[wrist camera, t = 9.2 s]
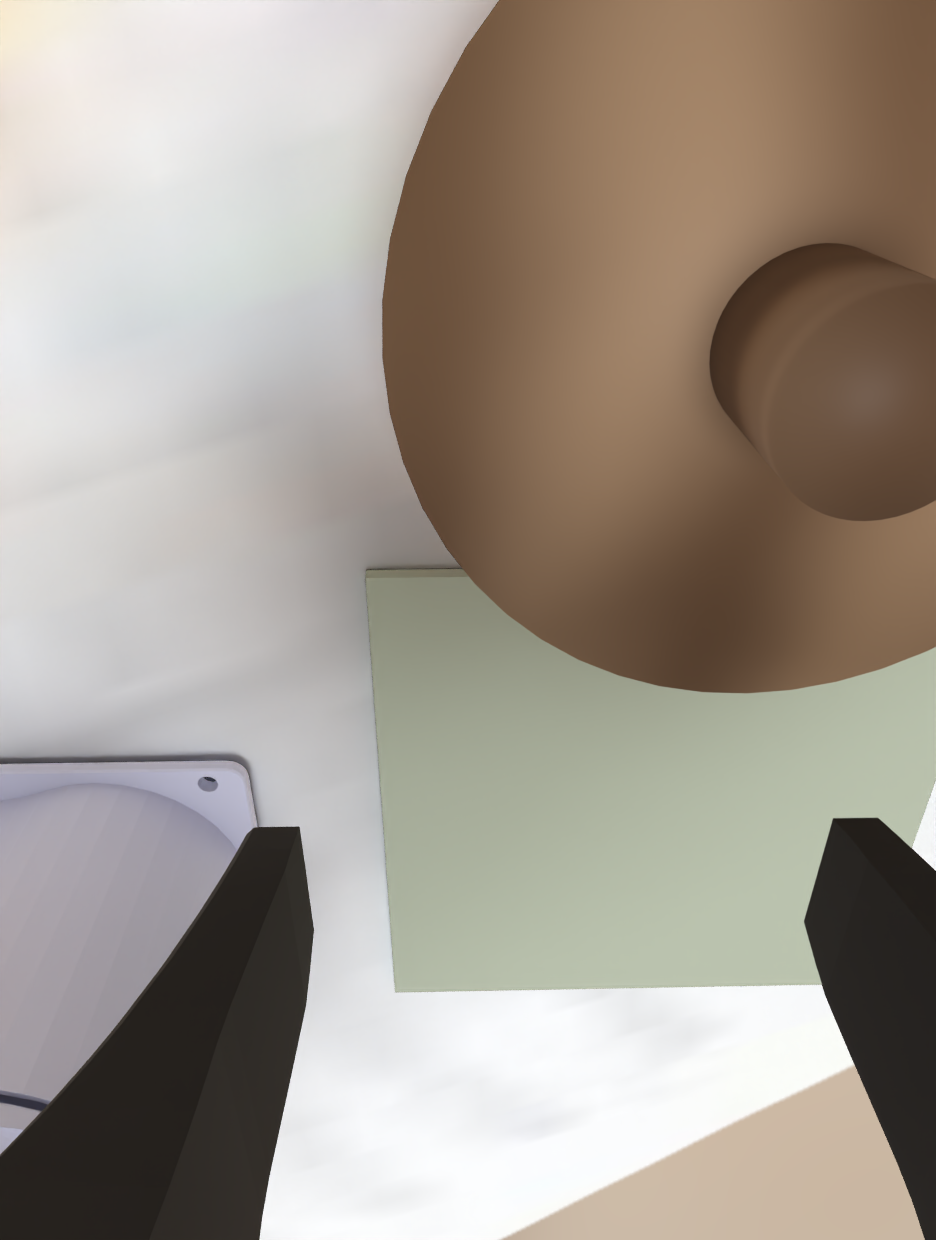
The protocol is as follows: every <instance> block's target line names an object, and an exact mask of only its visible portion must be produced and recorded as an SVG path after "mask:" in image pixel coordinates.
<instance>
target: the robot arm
mask: <svg viewBox="0 0 936 1240" xmlns="http://www.w3.org/2000/svg"><path fill="white" fill-rule="evenodd" d="M206 776H207V777H212V778H213V779H215V780H216V781H214V782H211V781H207V780H205V779H204V778H203V777H206ZM804 924H805V928H806V931H807V935H808V938H809V942H810V946H811V949H812V953H813V956H814V960H815V963H816V967H817V970H818V973H819V976H820V980H821V983H822V986H823V989H824V993H825V996H826V998H827V1001H828V1003H829V1005H830V1008H831V1010H832V1013H833V1015H834V1017H835V1020H836V1022H837V1025H838V1027H839V1029H840V1032H841V1034H842V1036H843V1039H844V1041H845V1043H846V1046H847V1048H848V1050H849V1053H850V1055H851V1057H852V1060H853V1062H854V1064H855V1067H856V1069H857V1071H858V1074H859V1075H860V1078H861V1080H862V1083H863V1085H864V1087H865V1089H866V1092H867V1094H868V1096H869V1099H870V1101H871V1104H872V1106H873V1108H874V1110H875V1113H876V1115H877V1117H878V1120H879V1122H880V1124H881V1127H882V1129H883V1131H884V1134H885V1136H886V1138H887V1140H888V1142H889V1145H890V1147H891V1150H892V1152H893V1154H894V1156H895V1159H896V1161H897V1163H898V1166H899V1168H900V1171H901V1174H902V1176H903V1179H904V1181H905V1184H906V1187H907V1189H908V1192H909V1194H910V1197H911V1199H912V1202H913V1205H914V1208H915V1211H916V1214H917V1217H918V1220H919V1223H920V1226H921V1229H922V1232H923V1235H924V1238H925V1240H936V871H935V870H934V869H933V868H932V867H931V866H930V865H929V864H928V863H927V862H926V861H925V860H924V859H922V858H921V857H920V856H919V855H918V854H917V853H916V852H915V851H914V850H913V849H912V848H911V847H910V846H909V845H908V844H906V843H905V842H904V841H903V840H902V839H901V838H900V837H899V836H898V835H897V834H896V833H895V832H893V831H892V830H891V829H890V828H889V827H888V826H887V825H886V824H885V823H884V822H882V821H881V820H880V819H879V818H833V820H832V824H831V827H830V831H829V834H828V838H827V841H826V845H825V848H824V852H823V855H822V859H821V863H820V866H819V870H818V873H817V877H816V880H815V884H814V887H813V891H812V894H811V898H810V901H809V905H808V908H807V912H806V915H805V919H804ZM313 933H314V928H313V920H312V913H311V906H310V899H309V892H308V884H307V877H306V870H305V863H304V856H303V849H302V841H301V834H300V827H257V821H256V815H255V809H254V803H253V798H252V792H251V786H250V780H249V775H248V772H247V770H246V769H245V768H244V767H243V766H242V765H241V764H239V763H236V762H234V761H167V762H100V763H32V764H0V1240H259V1237H260V1229H261V1221H262V1215H263V1209H264V1203H265V1198H266V1192H267V1186H268V1181H269V1175H270V1171H271V1166H272V1162H273V1157H274V1152H275V1148H276V1143H277V1138H278V1134H279V1129H280V1125H281V1120H282V1115H283V1111H284V1106H285V1101H286V1097H287V1092H288V1088H289V1083H290V1078H291V1074H292V1069H293V1064H294V1060H295V1055H296V1050H297V1046H298V1041H299V1036H300V1031H301V1027H302V1022H303V1017H304V1012H305V1007H306V1000H307V992H308V983H309V974H310V964H311V954H312V943H313Z"/></svg>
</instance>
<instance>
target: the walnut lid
mask: <svg viewBox="0 0 936 1240" xmlns="http://www.w3.org/2000/svg"><path fill="white" fill-rule="evenodd" d="M382 330H383V365H384V373H385V380H386V388H387V395H388V403H389V411H390V415H391V419H392V423H393V426H394V430H395V434H396V437H397V441H398V445H399V448H400V452H401V456H402V460H403V463H404V465H405V468H406V470H407V472H408V475H409V477H410V480H411V482H412V484H413V487H414V489H415V491H416V494H417V496H418V499H419V501H420V503H421V506H422V508H423V510H424V511H425V513H426V515H427V516H428V518H429V520H430V521H431V523H432V525H433V526H434V528H435V530H436V532H437V533H438V535H439V537H440V538H441V540H442V542H443V543H444V545H445V547H446V548H447V550H448V551H449V552H450V553H451V555H452V556H453V557H454V558H455V560H456V561H457V562H458V563H459V565H460V566H461V567H462V568H463V570H464V571H465V572H466V574H467V575H468V576H469V577H470V579H471V580H472V581H473V582H474V584H476V585H477V586H478V587H479V588H480V589H481V590H482V591H483V592H484V593H485V594H486V595H487V596H488V597H489V598H490V599H491V600H492V601H493V602H494V603H495V604H496V605H497V606H498V607H499V608H501V609H502V610H503V611H504V612H505V613H506V614H507V615H508V616H510V617H511V618H512V619H514V620H515V621H517V622H518V623H519V624H521V625H522V626H523V627H525V628H526V629H528V630H529V631H530V632H532V633H533V634H534V635H536V636H537V637H538V638H540V639H541V640H543V641H545V642H547V643H549V644H550V645H552V646H554V647H556V648H558V649H560V650H561V651H563V652H565V653H567V654H569V655H570V656H572V657H574V658H576V659H578V660H580V661H583V662H585V663H588V664H590V665H593V666H595V667H598V668H600V669H603V670H605V671H608V672H611V673H613V674H616V675H618V676H622V677H626V678H630V679H634V680H637V681H641V682H645V683H649V684H653V685H657V686H661V687H668V688H676V689H683V690H690V691H697V692H711V693H759V692H772V691H785V690H794V689H800V688H805V687H811V686H816V685H822V684H827V683H833V682H838V681H841V680H845V679H848V678H852V677H855V676H859V675H862V674H866V673H869V672H873V671H876V670H880V669H883V668H885V667H888V666H891V665H893V664H896V663H898V662H901V661H903V660H906V659H909V658H911V657H914V656H916V655H919V654H921V653H924V652H926V651H929V650H931V649H933V648H935V647H936V0H499V1H498V3H497V4H496V6H495V7H494V8H493V10H492V11H491V13H490V14H489V15H488V17H487V18H486V20H485V21H484V23H483V24H482V25H481V27H480V28H479V30H478V31H477V32H476V34H475V35H474V37H473V38H472V39H471V41H470V42H469V44H468V45H467V46H466V48H465V50H464V52H463V54H462V55H461V57H460V59H459V61H458V63H457V65H456V67H455V68H454V70H453V72H452V74H451V76H450V78H449V79H448V81H447V83H446V85H445V87H444V89H443V91H442V92H441V94H440V96H439V98H438V100H437V102H436V104H435V105H434V107H433V109H432V111H431V113H430V116H429V119H428V121H427V124H426V126H425V129H424V131H423V134H422V136H421V139H420V142H419V144H418V147H417V149H416V152H415V154H414V157H413V160H412V162H411V165H410V167H409V170H408V172H407V175H406V178H405V182H404V186H403V190H402V194H401V198H400V202H399V206H398V210H397V214H396V218H395V222H394V226H393V229H392V233H391V237H390V244H389V252H388V260H387V268H386V276H385V284H384V292H383V299H382Z"/></svg>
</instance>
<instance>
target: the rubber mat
mask: <svg viewBox="0 0 936 1240" xmlns="http://www.w3.org/2000/svg"><path fill="white" fill-rule="evenodd" d="M365 581H366V595H367V608H368V622H369V636H370V650H371V664H372V678H373V691H374V705H375V719H376V733H377V747H378V761H379V774H380V788H381V802H382V816H383V830H384V844H385V857H386V871H387V885H388V899H389V913H390V927H391V940H392V954H393V968H394V982H395V992H444V991H498V990H552V989H606V988H660V987H714V986H769V985H822V983H821V980H820V976H819V973H818V970H817V967H816V963H815V960H814V956H813V953H812V949H811V946H810V942H809V938H808V935H807V931H806V928H805V924H804V919H805V915H806V912H807V908H808V905H809V901H810V898H811V894H812V891H813V887H814V884H815V880H816V877H817V873H818V870H819V866H820V863H821V859H822V855H823V852H824V848H825V845H826V841H827V838H828V834H829V831H830V827H831V824H832V820H833V818H879V819H880V820H881V821H882V822H884V823H885V824H886V825H887V826H888V827H889V828H890V829H891V830H892V831H893V832H895V833H896V834H897V835H898V836H899V837H900V838H901V839H902V840H903V841H904V842H905V843H906V844H908V845H909V846H910V847H911V848H912V846H913V843H914V840H915V837H916V834H917V832H918V829H919V826H920V823H921V820H922V817H923V815H924V812H925V809H926V806H927V803H928V801H929V798H930V795H931V792H932V789H933V786H934V784H935V781H936V647H935V648H933V649H931V650H929V651H926V652H924V653H921V654H919V655H916V656H914V657H911V658H909V659H906V660H903V661H901V662H898V663H896V664H893V665H891V666H888V667H885V668H883V669H880V670H876V671H873V672H869V673H866V674H862V675H859V676H855V677H852V678H848V679H845V680H841V681H838V682H833V683H827V684H822V685H816V686H811V687H805V688H800V689H794V690H785V691H772V692H759V693H711V692H697V691H690V690H683V689H676V688H668V687H661V686H657V685H653V684H649V683H645V682H641V681H637V680H634V679H630V678H626V677H622V676H618V675H616V674H613V673H611V672H608V671H605V670H603V669H600V668H598V667H595V666H593V665H590V664H588V663H585V662H583V661H580V660H578V659H576V658H574V657H572V656H570V655H569V654H567V653H565V652H563V651H561V650H560V649H558V648H556V647H554V646H552V645H550V644H549V643H547V642H545V641H543V640H541V639H540V638H538V637H537V636H536V635H534V634H533V633H532V632H530V631H529V630H528V629H526V628H525V627H523V626H522V625H521V624H519V623H518V622H517V621H515V620H514V619H512V618H511V617H510V616H508V615H507V614H506V613H505V612H504V611H503V610H502V609H501V608H499V607H498V606H497V605H496V604H495V603H494V602H493V601H492V600H491V599H490V598H489V597H488V596H487V595H486V594H485V593H484V592H483V591H482V590H481V589H480V588H479V587H478V586H477V585H476V584H474V582H473V581H472V580H471V579H470V577H469V576H468V575H467V574H466V572H465V571H464V570H463V569H403V570H367V571H366V577H365Z"/></svg>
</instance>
